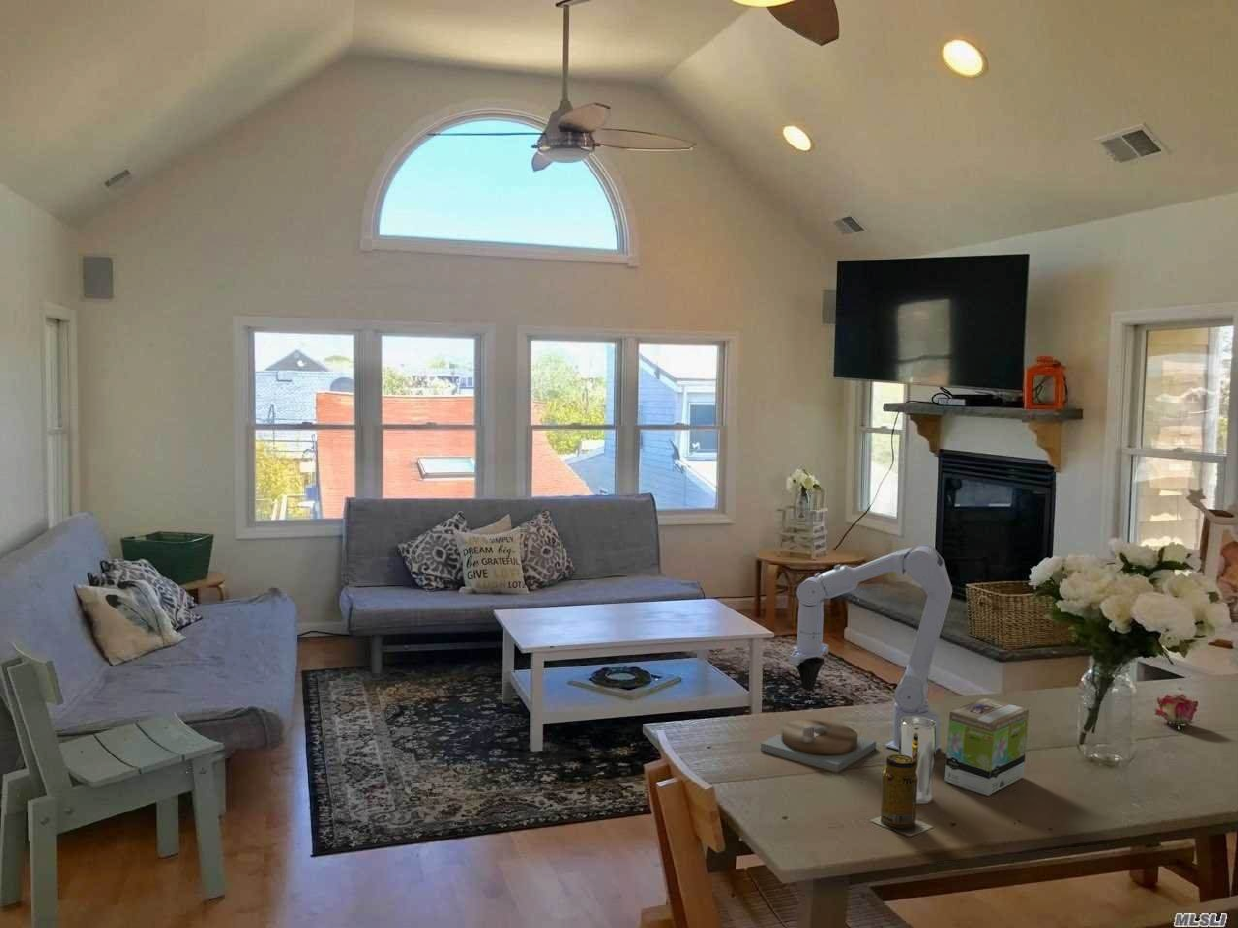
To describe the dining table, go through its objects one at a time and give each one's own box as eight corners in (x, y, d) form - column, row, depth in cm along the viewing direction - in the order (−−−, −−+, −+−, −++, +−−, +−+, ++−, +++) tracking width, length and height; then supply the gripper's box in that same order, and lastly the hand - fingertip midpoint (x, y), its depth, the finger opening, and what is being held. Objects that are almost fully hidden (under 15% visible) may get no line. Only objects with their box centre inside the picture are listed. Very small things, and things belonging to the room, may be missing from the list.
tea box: (990, 798, 199) (995, 723, 197) (942, 782, 206) (946, 710, 205) (1025, 778, 209) (1030, 707, 208) (979, 763, 216) (983, 695, 215)
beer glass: (928, 808, 193) (932, 730, 192) (891, 799, 197) (895, 722, 196) (938, 795, 199) (942, 720, 198) (902, 787, 203) (906, 713, 202)
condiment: (893, 811, 192) (897, 748, 191) (933, 827, 185) (936, 762, 184) (869, 821, 187) (872, 757, 186) (909, 838, 181) (912, 772, 179)
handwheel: (798, 723, 233) (799, 701, 232) (867, 738, 224) (868, 715, 224) (769, 744, 219) (770, 721, 219) (841, 760, 211) (842, 736, 210)
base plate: (875, 748, 223) (876, 741, 223) (837, 772, 209) (837, 764, 209) (802, 729, 235) (802, 721, 235) (760, 750, 221) (761, 742, 221)
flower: (1209, 728, 236) (1205, 695, 240) (1170, 719, 236) (1167, 686, 240) (1183, 739, 245) (1181, 707, 249) (1146, 730, 245) (1144, 698, 248)
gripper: (810, 622, 240) (807, 679, 241) (778, 633, 229) (776, 693, 230) (837, 627, 236) (835, 685, 237) (806, 639, 224) (804, 700, 226)
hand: (807, 689), depth 233 cm, fingers closed
